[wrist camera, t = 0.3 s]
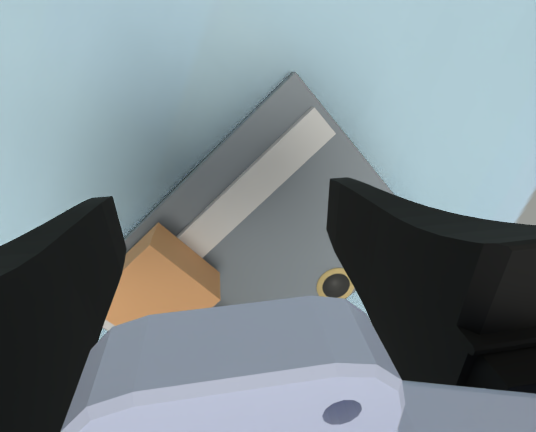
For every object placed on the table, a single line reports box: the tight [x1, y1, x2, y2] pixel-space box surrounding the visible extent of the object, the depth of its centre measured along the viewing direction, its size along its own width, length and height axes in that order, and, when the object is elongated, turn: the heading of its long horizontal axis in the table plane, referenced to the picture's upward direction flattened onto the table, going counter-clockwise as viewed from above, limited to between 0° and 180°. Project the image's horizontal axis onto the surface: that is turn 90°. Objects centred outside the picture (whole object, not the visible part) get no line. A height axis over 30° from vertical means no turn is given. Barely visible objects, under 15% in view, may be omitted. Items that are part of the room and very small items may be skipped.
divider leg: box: [105, 222, 221, 326], centre depth 22 cm, size 5×12×3 cm, turn 43°
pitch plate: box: [103, 72, 394, 331], centre depth 23 cm, size 20×14×2 cm
